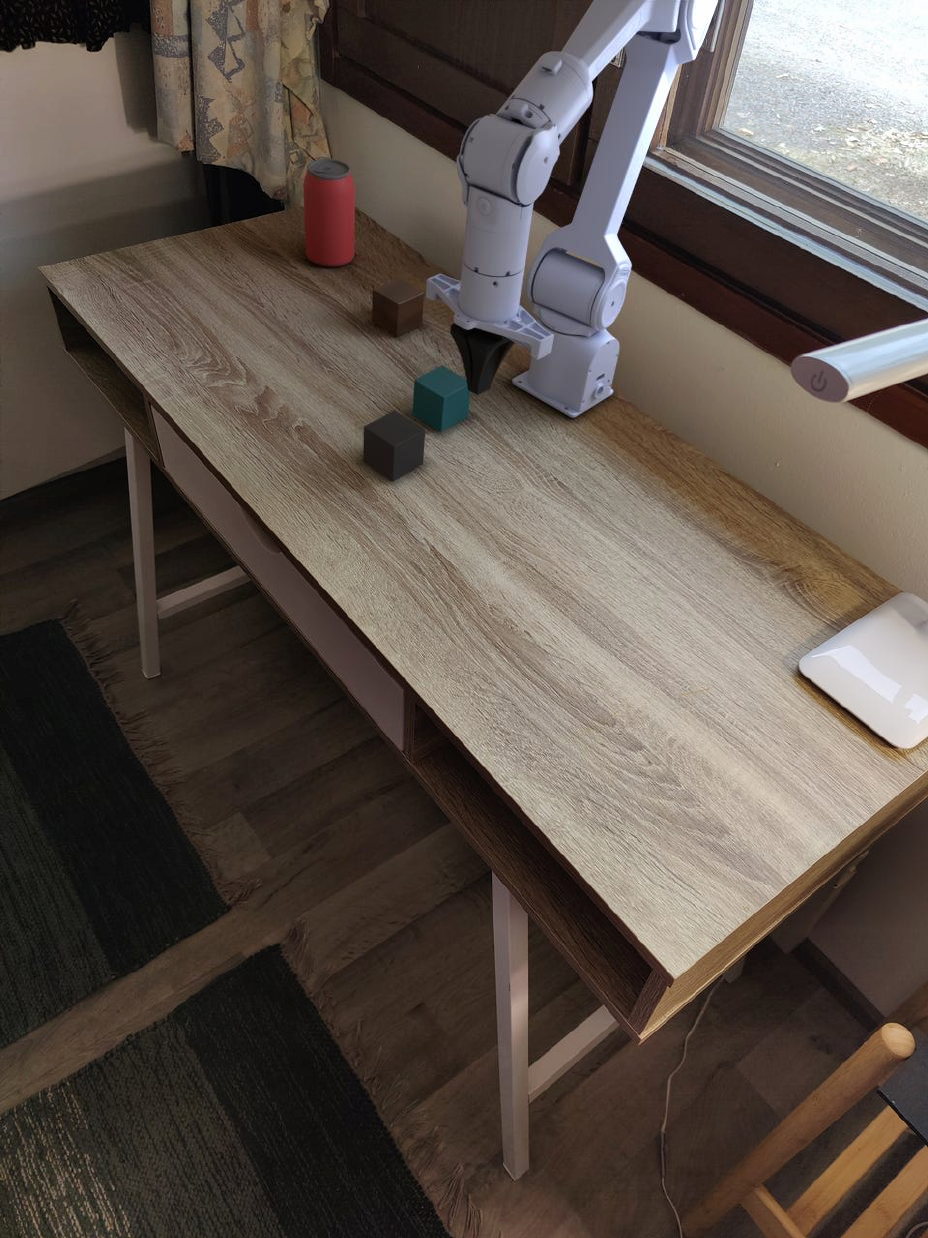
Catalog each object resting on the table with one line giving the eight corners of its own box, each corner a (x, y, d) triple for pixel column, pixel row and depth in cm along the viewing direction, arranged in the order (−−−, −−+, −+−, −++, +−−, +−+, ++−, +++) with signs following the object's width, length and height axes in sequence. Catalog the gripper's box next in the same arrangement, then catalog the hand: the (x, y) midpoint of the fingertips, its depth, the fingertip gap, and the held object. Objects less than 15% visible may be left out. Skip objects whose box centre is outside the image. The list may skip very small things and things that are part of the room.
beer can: (296, 252, 130) (293, 161, 121) (338, 242, 133) (337, 153, 124) (321, 273, 127) (319, 181, 118) (363, 262, 130) (364, 172, 121)
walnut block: (422, 325, 120) (424, 292, 117) (396, 337, 118) (398, 303, 114) (397, 311, 122) (398, 277, 119) (371, 322, 120) (372, 289, 116)
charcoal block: (423, 464, 101) (425, 429, 98) (392, 482, 99) (394, 446, 95) (393, 444, 103) (394, 409, 100) (362, 461, 100) (363, 426, 97)
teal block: (468, 416, 108) (472, 382, 104) (440, 432, 105) (444, 397, 102) (439, 399, 109) (442, 364, 106) (411, 414, 107) (413, 379, 104)
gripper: (406, 244, 88) (400, 372, 98) (526, 308, 82) (507, 437, 92) (458, 223, 92) (447, 348, 102) (576, 282, 86) (552, 409, 96)
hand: (479, 389), depth 97 cm, fingers closed
